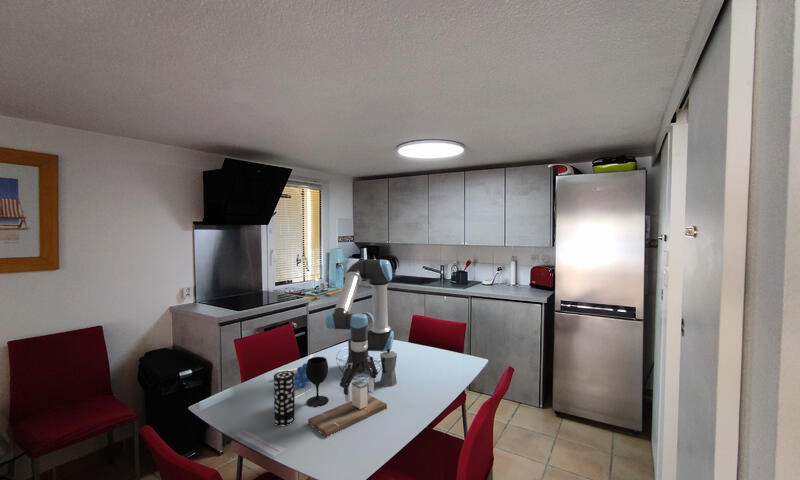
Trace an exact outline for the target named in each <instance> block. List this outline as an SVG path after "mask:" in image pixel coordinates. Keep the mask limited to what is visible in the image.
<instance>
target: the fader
mask: <svg viewBox="0 0 800 480" xmlns="http://www.w3.org/2000/svg"><path fill="white" fill-rule="evenodd" d="M368 387H369V383H366V382H364V381H363V380H360V379H358V380H354V381H353V382H352V381H351V388H352V389H351V396H352V397H351V401H352V405H354V406H356V407H357V408H359V409H362V408H364V407H367V406H368V401H367V394H368Z"/></svg>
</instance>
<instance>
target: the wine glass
mask: <svg viewBox="0 0 800 480" xmlns="http://www.w3.org/2000/svg"><path fill="white" fill-rule="evenodd" d="M306 363H307V365H306V376H307V378H308V380H309V382H310V383H311V384H313V385H314V386H315V388H316V389H315V390H316V395H315V396H312V397H310V398H308V399H307V400H306V402H305V403H306V405H307V406H308V405H309V407H311V406H313V407H312V408H318V407H317V406H320V407H323V406H325V405H327V404H328V403H329V397H327V396H325V395H319V388H320V385H321V384H322V383H324V381H326V379H327V377H328V375H329V363H328V360H327V358H326V357H325V356H313V357H310V358H309V359H308V360H307V361H306Z"/></svg>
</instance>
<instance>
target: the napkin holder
mask: <svg viewBox="0 0 800 480" xmlns="http://www.w3.org/2000/svg"><path fill="white" fill-rule="evenodd" d="M297 369H298V367H295V368H287V369H278V370H277V373H278V372H282V371H292V372H294V374H295V373H298V372H297Z"/></svg>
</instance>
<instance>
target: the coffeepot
mask: <svg viewBox="0 0 800 480" xmlns="http://www.w3.org/2000/svg"><path fill="white" fill-rule="evenodd" d="M379 356H380V363H381V369H382V370H381V375H380V385H381V386H384V387H385V386H386V387H392V386H396V385H397V383H398V382H397V381H398V380H397V375H396V365H397V358H398V357H397V353H396V352H395V351H393V350H390V349H387V352H382V353H379Z"/></svg>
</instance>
